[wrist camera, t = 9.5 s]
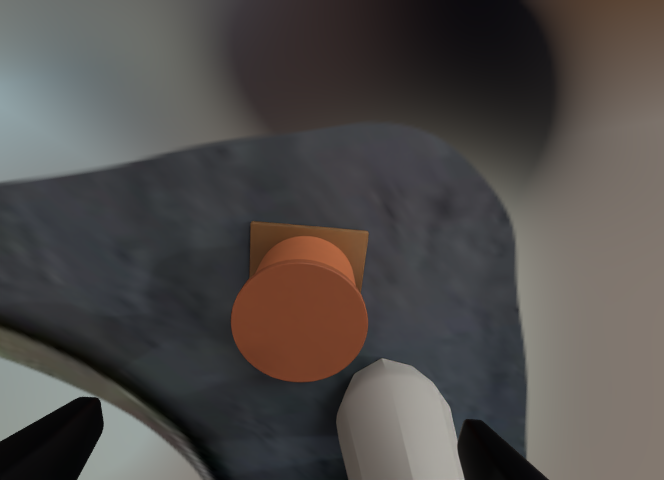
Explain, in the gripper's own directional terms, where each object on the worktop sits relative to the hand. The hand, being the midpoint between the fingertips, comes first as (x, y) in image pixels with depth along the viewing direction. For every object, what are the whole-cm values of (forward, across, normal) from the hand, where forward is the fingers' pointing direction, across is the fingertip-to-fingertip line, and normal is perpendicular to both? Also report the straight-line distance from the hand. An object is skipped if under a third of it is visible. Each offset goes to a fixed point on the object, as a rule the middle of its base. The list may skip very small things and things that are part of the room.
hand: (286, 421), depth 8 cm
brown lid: (+8, 0, 0) cm, 8 cm away
